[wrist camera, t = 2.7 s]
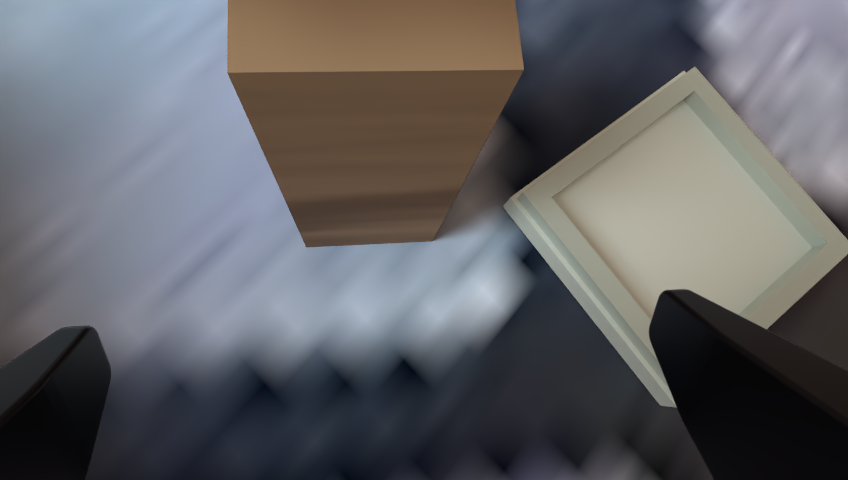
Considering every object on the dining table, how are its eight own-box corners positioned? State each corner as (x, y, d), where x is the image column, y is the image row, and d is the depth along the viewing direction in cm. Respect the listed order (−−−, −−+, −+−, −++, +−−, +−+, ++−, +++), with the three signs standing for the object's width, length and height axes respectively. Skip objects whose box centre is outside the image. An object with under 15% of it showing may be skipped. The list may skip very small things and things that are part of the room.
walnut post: (432, 240, 22) (523, 69, 10) (306, 247, 22) (227, 73, 9) (423, 126, 23) (494, -162, 11) (303, 128, 23) (229, -173, 10)
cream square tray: (820, 258, 24) (861, 248, 22) (660, 405, 22) (689, 408, 20) (669, 84, 25) (694, 60, 23) (502, 206, 23) (515, 190, 21)
